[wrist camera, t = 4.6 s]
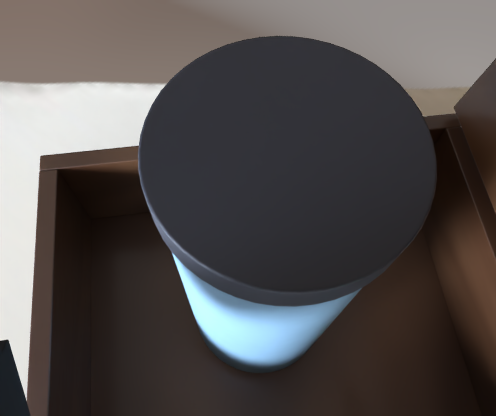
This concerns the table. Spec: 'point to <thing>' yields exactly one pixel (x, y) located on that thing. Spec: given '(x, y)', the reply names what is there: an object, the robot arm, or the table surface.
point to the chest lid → (481, 126)
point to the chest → (187, 332)
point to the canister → (282, 189)
